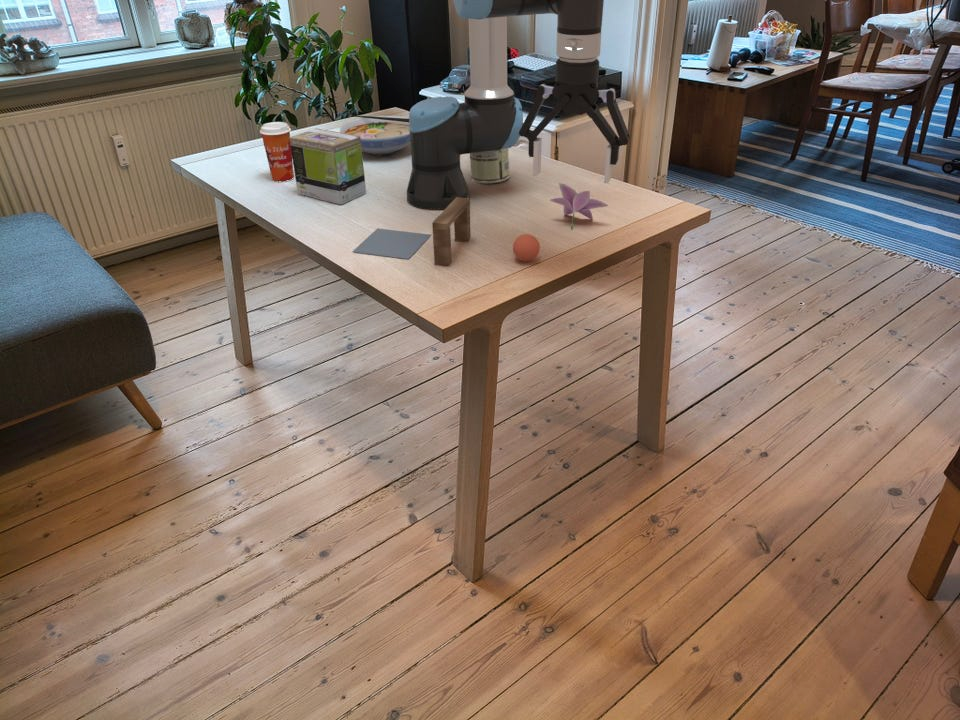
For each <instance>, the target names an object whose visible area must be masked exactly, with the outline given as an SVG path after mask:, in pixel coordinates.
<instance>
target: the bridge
mask: <svg viewBox="0 0 960 720" xmlns="http://www.w3.org/2000/svg"><path fill="white" fill-rule="evenodd" d="M431 224H432V226H431V227H432V239H433V240H432V243H433V260H434V261H433V262H434V263H433V264H434V266H441V267H449V266H450V265H451V264H452V243H451V240H452V239H451V236H452V235H451V226H452V225H453V228H454V242H455V241H456V242H462V243H464V242H465V243H469V241H470V240H471V239H472V236H471V233H472V232H471V230H472V229H471V200H470V198H469V197H468V198H460V197H456V198H455V199H454V200H453V201H452V202H451V203H450V205H449V206H448V207H447V208H446V209H443V210H442V212H441V213H440V214H439V215H437V217H436V218H435V219H434V220H433V221H432V223H431Z"/></svg>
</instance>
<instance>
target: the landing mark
mask: <svg viewBox="0 0 960 720" xmlns="http://www.w3.org/2000/svg"><path fill="white" fill-rule="evenodd" d="M430 237H432V234H430V233H429V234H428V233H420V232H414V231H413V232H412V231H402V230H394V229H387V228H386V229H385V228H376V229H375V230H374V231H373V232H371V234H369V236H367V237H366V238H365V239H364V240H363V241H362V242H360V243H359V245H357V247H355V248H354V249H353V250H352V252H354V253H353V254H361V255H369V256H375V257H385V258H391V259H392V258H393V259H401V260H406V261H407V260H408V261H409V260H410V259H411V258H412V257H413V256H414V255H415V254H416V252H417V251H419V250H420V248H422V246H423V245H424V244H425V243H426V242H427V241H428V239H430ZM352 252H351V253H352Z"/></svg>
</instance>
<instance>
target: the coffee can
mask: <svg viewBox="0 0 960 720" xmlns="http://www.w3.org/2000/svg"><path fill="white" fill-rule="evenodd" d="M469 161H470V162H469V163H470V179H471V181H473V182H474V183H476V184H498V183H502V182H505V181H508V179H510V158H509V148H506V149H501V150H499V151H495V150H493V151H485V152H477V153H469Z"/></svg>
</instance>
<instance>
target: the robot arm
mask: <svg viewBox="0 0 960 720" xmlns="http://www.w3.org/2000/svg"><path fill="white" fill-rule="evenodd" d="M452 3H453V6H454V8H455V12H456V15H458V17H459V18H461V19H463V20H468V41H469V72H470V73H469V74H470V77H469V78H470V85H469V87H468V88H467V89H466V91H464V102H461V103H460V102H459V100H458V99H457V98H456V97H454V96H453V97H452V96H436V97H431V98H430V97H429V98H426V99H424V100H420V101H419V102H416V104H414V105H413V106H412V107H411V108H410V110H409V112H408V116H409V117H408V118H409V131H410V143H409V144H410V156H411V158H410V159H411V173H410V177H409V181H408V184H407V189H406V200H407V202H408V204H410V205H411V206H413V207H414V208H419V209H423V210H445V209H446V208H447V207H448V206H449V205H450V203H451V202H452V201H453V200H454V199H455V198H456V197H460V198H469V188H468V185H467V182H466V180H465V176H464V173H463V171H462V168H461V155H466V154H468V155H470V153H477V152H485V151H493V150H495V151H499V150H501V149H506V148H508V149H511V148H513V147H514V146H515V145H516V144H517V143H518V141H519V139H520V138H522V137H524V138H526V139H527V140H528V156H529V158H533V163H532V165H533V166H532V176H533V177H538V176H539V175H540V173H541V172H542V171H541V170H542V169H541V168H542V139H543V138H542V137H538V136H539V135H540V134H541V133H542V131H543V130H544V129H545V128H546V127H547V126H548V125H549V124H550V123H551V122H552V121H553V119H554V118H555V117H556V116H557V115H558V114H559V113H560V112H561V111H562V112H563V113H564V114H566V115H570V114H571V115H572V114H575V115H581V116H582V115H584V114H586V115H587V116H588V118H590V119H591V120H592V121H593V123H594V124H595V125H596V127H597V128H598V130H599V131H600V132H601V134H602V135H603V137H604V138H605V140H606V141H607V143H608V145H607V146H606V149H605V150H606V152H605V162H604V163H605V164H604V177H603V184H609V183H610V181H611V179H612V170H613V169H612V167H613V165H614V166H615V165H617V162H618V161H619V153H620V147H622V146H626V145H628V144H629V142H630V141H631V135H630V133H629V131H628V128H627V125H626V123H625V121H624V117H623V116H622V113H621V110H620V108H619V104H618V102H617V91H616V88H615V87H611V88H609V89H600V87H599V74H600V61H599V59H598V58H599V57H600V55H601V46H602V45H601V44H602V26H603V14H604V3H605V2H604V0H452ZM545 14H546V15H547V14H552V15H553V14H554V15H557V23H556V24H557V27H556V56H557V60H556V61H555V75H554V76H555V80H554V86H550V85H547V84H546V83H542V84H540V85H539V86H537V88H536V94H535V100H534V101H533V104H532V106H531V108H530V110H529V111H528V114H527V116H526V118H525V119H524V113H523V111H522V109H523V107H522V103H521V102H520V100H519V99H518V98H517V97H515V96H514V95H515V92H514V91H513V89H512V88H511V87H510V86H509V85H508V25H507V24H508V21H507V20H508V18H507V17H513V16H514V17H516V16H517V17H518V16H534V15H545ZM550 95H552V97H553V98H554V100H555V102H556V104H555V105H554V106H553V107H552V109H551V110H550V111H549V112H548V114H546V115H545V117H544V118H543V119H542V120H541V121H540V122H539V123H538V125H536V127H535V128H534V129H531V127H532V125H533V123H534V121H536V118H537V115H538V113H540V112H539V111H540V110H541V107H542V106H543V104H544V102H545V100H546V99H548V98H549V97H550ZM599 98H601V99H602V101H603V103H605V104H606V107H607V110H608V114H610V115H609V116H610V118H611V120H612V122H613V125H614V128H615V130H616V132H615V131H614V129H613V128H612V126H611V125H610V123H609V122H608V121H607V119H606V118H605V116H604V114H603V113H602V112H601V110H600V107H599V106H598V105H597V104H596V102H597V101H598V99H599Z"/></svg>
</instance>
